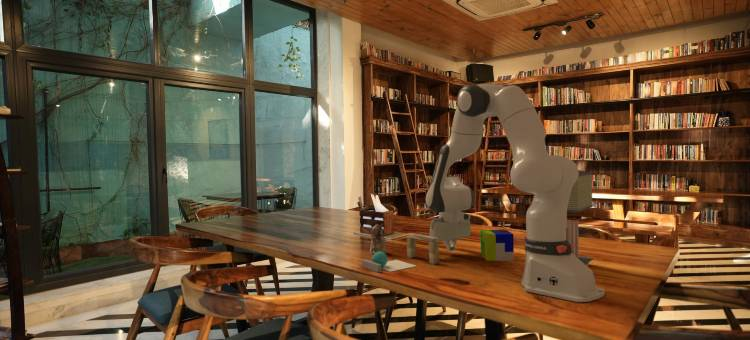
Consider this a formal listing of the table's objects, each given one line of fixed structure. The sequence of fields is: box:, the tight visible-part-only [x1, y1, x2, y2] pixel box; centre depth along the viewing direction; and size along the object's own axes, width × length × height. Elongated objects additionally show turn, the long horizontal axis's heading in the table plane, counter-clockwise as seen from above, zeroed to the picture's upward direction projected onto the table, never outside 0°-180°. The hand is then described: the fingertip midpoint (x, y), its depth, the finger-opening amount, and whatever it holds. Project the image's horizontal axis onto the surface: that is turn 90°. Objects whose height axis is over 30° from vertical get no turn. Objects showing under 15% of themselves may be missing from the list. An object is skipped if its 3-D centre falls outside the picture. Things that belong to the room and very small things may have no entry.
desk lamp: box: [566, 172, 594, 267], centre depth 147 cm, size 18×14×33 cm
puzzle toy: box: [480, 229, 515, 262], centre depth 163 cm, size 10×10×10 cm
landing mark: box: [381, 259, 417, 273], centre depth 153 cm, size 12×12×1 cm
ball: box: [371, 251, 389, 267], centre depth 151 cm, size 6×6×6 cm
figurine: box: [369, 223, 388, 255], centre depth 174 cm, size 7×7×12 cm
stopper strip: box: [361, 258, 382, 273], centre depth 148 cm, size 10×2×2 cm, turn 35°
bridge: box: [406, 232, 440, 265], centre depth 161 cm, size 3×15×9 cm, turn 35°
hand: (450, 250), depth 169 cm, fingers closed
